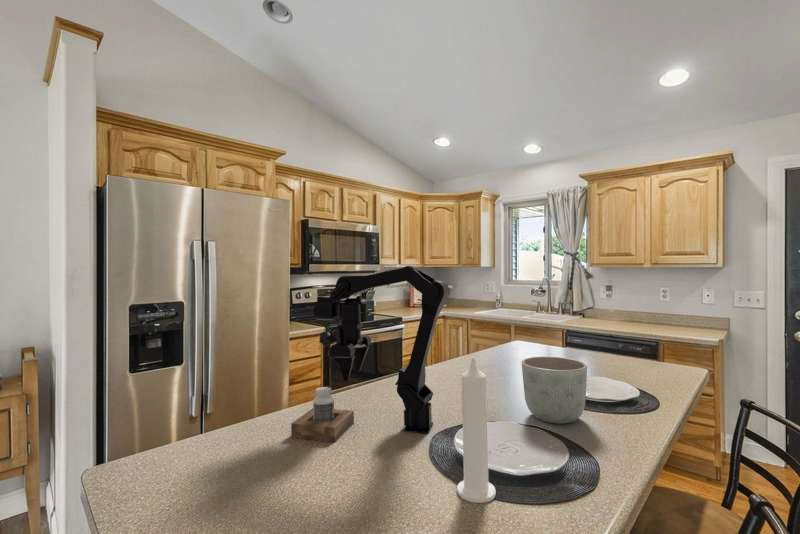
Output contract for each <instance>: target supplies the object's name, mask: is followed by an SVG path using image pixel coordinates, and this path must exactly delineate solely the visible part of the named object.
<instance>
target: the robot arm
mask: <svg viewBox="0 0 800 534" xmlns="http://www.w3.org/2000/svg"><path fill="white" fill-rule="evenodd" d="M404 282H407V283H409V284H410V285H411V286H412V287H413V288H414V289H415V290H416V291H418V292H419V293H420V294H421V303H420V304H421V316H420V319H419V320H420V321H419V324H418V328H417V332H416V335H415V340H414V343H413V346H412V350H411V354H410V357H409V362H408V364H406V365H404V367H402V368H400V369H399V370H398V375H397V377H398V378H397V381H396V382H395V384H394V385H395V386H396V392H397V394H398V396H399V397H400V398H401V399H402V400H401V401H402V403H403V406H404V410H403V426H404V432H413V433H421V434H423V433H424V434H429V433H430V432H431V429H432V428H433V425H434V422H433V420H432V419H433V418H432V403H431V402H430V401H432V398H433V395H434V392H433V391H432V390H431V389H430V387H428V386H427V384H426V374H427V373H426V362H427V360H428V359H427V358H428V355H429V352H430V348H431V344H432V340H433V337H434V332H435V329H436V326H437V325H436V324H437V322H438V319H439V316H440V314H441V311H443V309H444V306H445V305H446V303H447V301H448V299H449V296H450V291H451V290H450V287H449V285H448V283H447V282H446V281H443V280H440V279H439V280H438V279H437V280H436V279H435V278H434V277H432V276H431V275H429V274H427V273H425V272H424V271H422V270H420V269H419V268H418V267H417V266H414V265H406V266H403V267H400V268H396V269H391V270H386V271H382V272H381V271H380V272H377V273H373V274H367V275H365V274H364V275H363V274H362V275H343V276H342V275H341V276H340V277H339V278H338V279H337V280H336V283H335V287H334V289H333V291H332V292H331V294H330V295H329V296H326V295H325V296H322V295H321V296H317V298H316V301H315V304H314V307H313V309H312V312H313V316H314V319H316V320H318V321H336V320H338V319H339V324H338V325H337V326H336V330H333V331H332V332H329V331H328V330H325V331H322V332H320V333H319V342H318V343H320V344H322V346H323V348H326V347H328V346H330V347H329V348H328V350H327V353H328V354H327V355H328V357H329V358H331V360H334V361H335V362H336V363H337V364H338V367H339V370H340V373H341V376H342V379H343V380H344V382H348V381H349V379H350V375H351V372H352V369H353V367H354V372H355V373H360V371H361V369H362V366H363V364H364V361H365V358H366V356H367V354H368V351H369V349H370V346H371V345H372V338H371V337H370V336H369V335H367V334H362V329H361V328H363V326H364V324H363V322H361V321H362V320H361V305H365V304H368V301H367V299H365V298H364V297H363V296H362V295H361V294H363V293H365V292H367V291H369V290H371V289H375V288H379V287H384V286H389V285H393V284H394V285H395V284H399V283H404ZM355 296H356V297H355ZM341 300H344V301H341ZM353 365H354V366H353Z"/></svg>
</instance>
